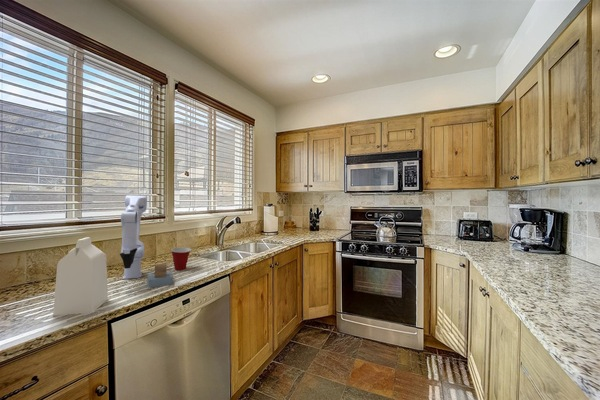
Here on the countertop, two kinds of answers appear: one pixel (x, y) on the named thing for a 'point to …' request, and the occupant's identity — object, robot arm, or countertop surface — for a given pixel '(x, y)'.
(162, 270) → the walnut cube
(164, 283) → the slate block
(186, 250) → the plastic cup
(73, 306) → the milk
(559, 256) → the countertop surface
